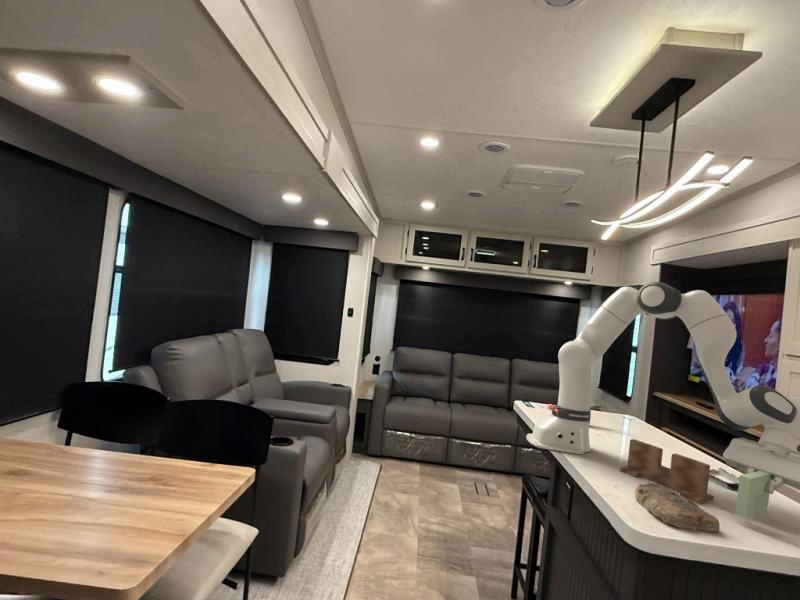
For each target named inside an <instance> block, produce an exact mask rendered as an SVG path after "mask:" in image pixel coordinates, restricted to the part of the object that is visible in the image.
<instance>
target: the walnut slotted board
mask: <svg viewBox="0 0 800 600" xmlns="http://www.w3.org/2000/svg"><path fill="white" fill-rule="evenodd" d="M663 451H664V448H662V447H658V446H656V445H653V444H650V443H646V442H645V441H641V440H639V439H635V438H633V439H630V440H629V449H628V455H627V465H626V466H625V465H624V466H621V467H619V471H620V472H621V471H622V473H624V474H626V473H627V475H629V474H630V475H629V476H631V475H632V476H631V477H633V476H634V478H639V477H641V476H642V478H644V477H645V478H644V479H646V478H647V480H648V481H651V480H652V481H651V482H653V481H654V482H653V483H655V484H659V485H662V486H665V487H667V488H668V489H670V490H672V491H674V492H678V493H679V495H681V496H683V497H685V498H686V499H688V500H690V501H692V502H693V503H695V504H696V505H701V504H705V503H708V502H711V501H714V500H715V495H713V494H711V493H708V490H709V481H710V480H709V472H710V470H711V465H710V464H708V463H705V462H702V461H699V460H696V459H693V458H690V457H687V456H684V455H682V454H679V453H672V454H671V460H670V468H669V467H667V466H664V465H662V461H663V454H664V453H663ZM638 476H639V477H638Z"/></svg>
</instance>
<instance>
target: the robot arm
mask: <svg viewBox="0 0 800 600" xmlns="http://www.w3.org/2000/svg"><path fill="white" fill-rule="evenodd" d="M642 314H645V315H647V316H650V317H653V318H655V319H658V320H663V321H666V320H673V319H675V318H677V317H678V318H679V319H680V320H681V321H682V322H683V323H684V325H685V327H686V329H687V330H688V332H689V334H690V336H691V337H692V340H693V342H694V345H695V350H696V360H697V362H698V365H699V367H700V370H701V372H702V375H703V377H704V379H705V381H706V384H707V386H708V388H709V391H710V393H711V395H712V397H713V400H714V404H715V410H716V413H717V416H718V418H719V419H720V421H721V422H723V423H724V424H725V425H726V426H727V427H729V428H731V429H732V430H735V431H742V432H743V431H747V430H749V429H752V428H754V427H756V426H761V425H762V426H763V427H764V431H763V432H762V434H761V436H760V438H759V440H758V441H756V440H752V439H747V438H745V437H736V438H732V440H731V441H730V443H729V445H728V446H727V447H726V449H725V450H724V452H723V453H722V457H723V460H724V462H725V463H726V465H728V466H730V467H733V468H735V469H736V468H737V469H739V470H742V471H744V472H747V473H751V472H756V471H763V472H766V473H769V474H771V481H773V482H771V483H770V484H767V483H766V485H765V487H764V490H765V492H767V493H769V495H773V494H774V493H775V491H776V490H778V489H781V488H783V487H784V485H786V486H788V487H792V488H795V489H798V490H800V397H798V396H789V395H784V394H783V393H780V392H779V391H778V390H777V389H775V388H773V387H770V386H767V385H763V384H758V385H754V386H752V387H750V388H747V389H744V390H742V391H740V392H737V390H736V389H735V387H734V385H733V383H732V381H731V378H730V376H729V374H728V372H727V370H726V366H725V365H726V364H725V363H726V358H727V355H728V354H729V353H730V351H731V349H732V348H733V346H734V344H735V343H736V340H737V335H738V334H737V329H736V327H735V325H734V323H733V322H732V320H731V318H730V317H729V316H728V314H727V313H726V311H725V310H724V308H723V307H722V306H721V305H720V303H719V302H718V301H717V300H716V299H715V298H714V297H713V296H712V295H711V294H710V293H708V291H705V290H702V289H700V290H699V289H696V290H690V291H687V292H686V293H681V291H680V290H678V289H677V288H675V287H673V286H670V285H669V284H667V283H665V282H661V281H651V282H647V283H645V284H643V285H642V286H641V287H640V288H639V290H638V289H636V288H634V287H631V286H627V285H626V286H622V287H620V288H619V289H617V290H616V291H614V293H612V294H611V295H610V296H609V297H608V298H607V299H605V301H604V302H603V303H602V304H601V305H600V307H599V308H598V309H597V310H596V311H595V312H594V314H592V316H591V317H589V319H588V320H587V321H586V323H585V324H584V326H583V328H582V329H581V331H580V332H579V334H578V335H577V337H576V338H574V340H570V341H567V342H565V343H564V344H563V345H562V346H561V347H560V349H559V351H558V354H557V359H558V375H559V376H558V377H559V389H558V399H557V404H555V405H554V404H552V403H548V404H547V409H548V410H550V411H551V413H550V414H549V415H548V416H546V417H544V418H542V419H540V420H538V421H537V422H536V423H535V425H534V427H533V431H532V433H527V434H526V436H525V437H526V438H525V439H526V440H527V441H528V442H529V443H530V444H531V445H532V446H535V447H536V448H539V449H546V450H552V451H558V452H564V453H569V454H576V455H584V454H585V453H588V452H591V444H590V434H589V433H590V430H589V426H590V424H591V415H592V410H590V404H592V390H593V387H592V367H594V366H595V365H596V364H597V362H598V361H599V360H600V359H601V358H602V357H603V356H604V354H605V353H606V352H607V350H608V349H609V348H610V347H611V345H612V344H613V343H614V342H615V341H616V339H617V338H618V337H619V336H620V335H621V334H622V333H623V332H624V331H625V329H627V327H628V326H629V325H630V324H631V323H632V322H633V321H634V320H635V319H636V318H637V317H638V316H640V315H642Z"/></svg>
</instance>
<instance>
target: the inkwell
mask: <svg viewBox="0 0 800 600" xmlns="http://www.w3.org/2000/svg"><path fill="white" fill-rule="evenodd" d="M597 409H608V408H607V407H606V406H605V405H603V404H601V403H600V404H599V403H590V411H592V410H597Z"/></svg>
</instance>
